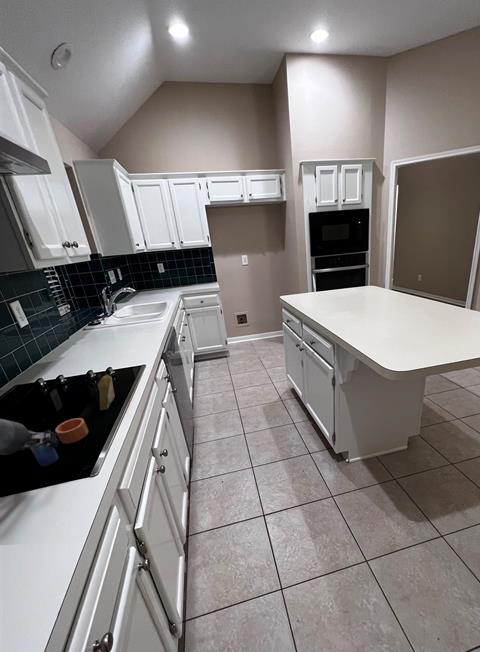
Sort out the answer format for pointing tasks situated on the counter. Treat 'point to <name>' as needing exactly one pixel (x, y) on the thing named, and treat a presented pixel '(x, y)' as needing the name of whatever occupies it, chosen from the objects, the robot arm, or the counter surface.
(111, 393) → the rock
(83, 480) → the counter surface
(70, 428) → the ring
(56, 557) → the counter surface
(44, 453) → the blue cylinder
